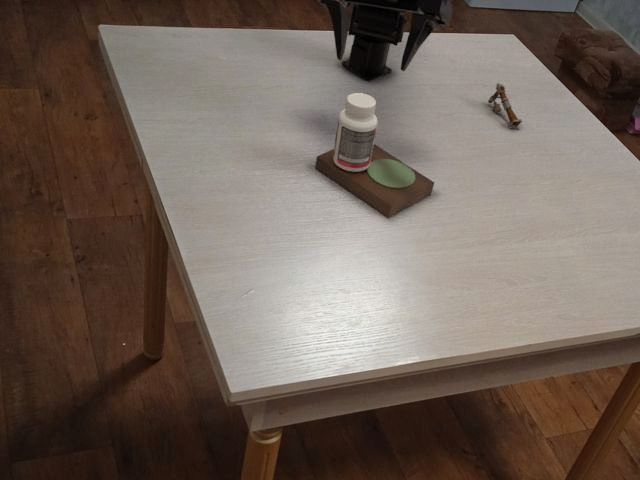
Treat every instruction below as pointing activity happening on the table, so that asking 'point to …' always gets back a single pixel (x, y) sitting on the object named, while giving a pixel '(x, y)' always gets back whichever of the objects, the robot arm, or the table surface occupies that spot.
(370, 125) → the pill bottle
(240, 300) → the table surface
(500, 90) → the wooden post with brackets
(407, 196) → the wooden coaster tray
